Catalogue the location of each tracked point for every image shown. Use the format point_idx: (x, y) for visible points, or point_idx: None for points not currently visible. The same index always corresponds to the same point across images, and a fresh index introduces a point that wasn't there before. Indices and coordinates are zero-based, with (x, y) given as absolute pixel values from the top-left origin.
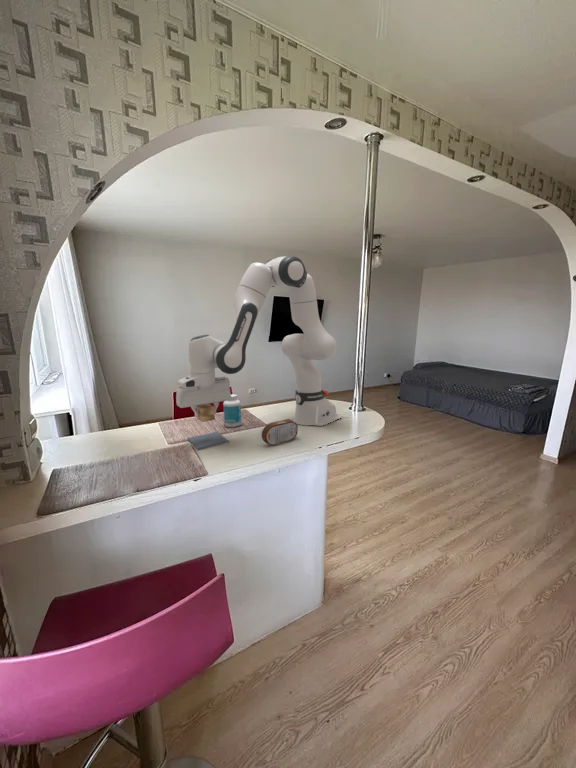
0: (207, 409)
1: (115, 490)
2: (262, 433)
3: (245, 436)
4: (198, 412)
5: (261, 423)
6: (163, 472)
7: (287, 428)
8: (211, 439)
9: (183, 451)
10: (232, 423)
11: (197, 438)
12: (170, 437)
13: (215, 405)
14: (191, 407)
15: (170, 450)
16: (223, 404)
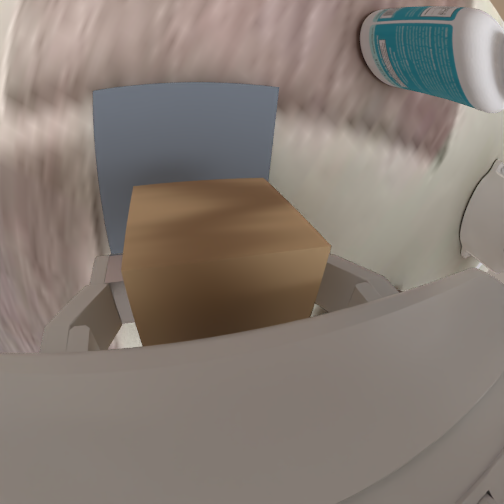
0: None
1: None
2: None
3: (341, 209)
4: (130, 322)
5: (445, 129)
6: (21, 341)
7: None
8: None
9: (54, 232)
10: (385, 77)
11: (139, 124)
12: (40, 8)
13: (345, 303)
14: (50, 345)
15: (7, 194)
16: (461, 26)
